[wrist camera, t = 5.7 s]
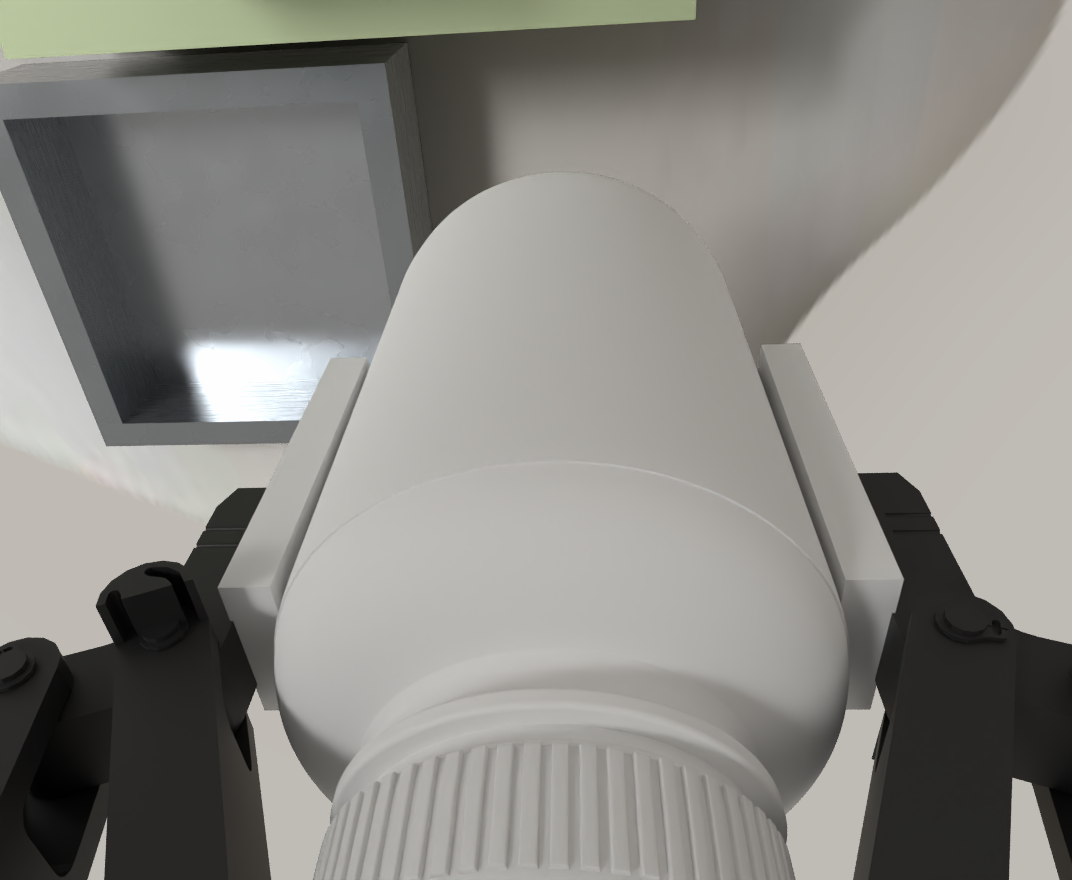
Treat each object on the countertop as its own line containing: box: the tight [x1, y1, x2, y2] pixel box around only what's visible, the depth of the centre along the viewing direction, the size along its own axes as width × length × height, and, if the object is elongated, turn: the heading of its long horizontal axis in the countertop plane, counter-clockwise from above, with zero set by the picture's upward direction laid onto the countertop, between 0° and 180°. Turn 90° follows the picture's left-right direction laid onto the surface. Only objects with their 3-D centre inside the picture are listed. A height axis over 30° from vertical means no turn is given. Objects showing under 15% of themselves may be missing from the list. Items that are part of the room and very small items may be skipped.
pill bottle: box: [274, 172, 850, 880], centre depth 15 cm, size 8×8×15 cm
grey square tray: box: [0, 43, 432, 446], centre depth 30 cm, size 13×13×4 cm
